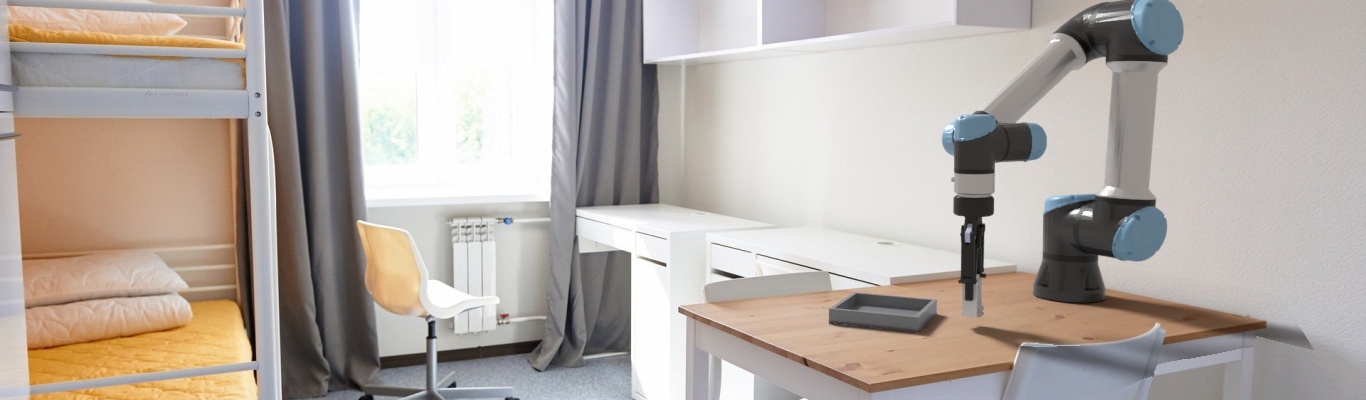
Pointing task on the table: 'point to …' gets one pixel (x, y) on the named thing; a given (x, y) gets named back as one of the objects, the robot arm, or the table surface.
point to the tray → (884, 311)
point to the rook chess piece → (978, 300)
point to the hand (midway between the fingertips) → (971, 313)
